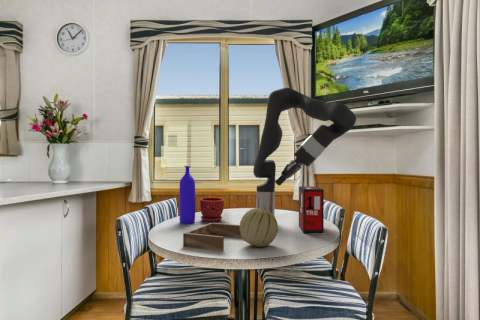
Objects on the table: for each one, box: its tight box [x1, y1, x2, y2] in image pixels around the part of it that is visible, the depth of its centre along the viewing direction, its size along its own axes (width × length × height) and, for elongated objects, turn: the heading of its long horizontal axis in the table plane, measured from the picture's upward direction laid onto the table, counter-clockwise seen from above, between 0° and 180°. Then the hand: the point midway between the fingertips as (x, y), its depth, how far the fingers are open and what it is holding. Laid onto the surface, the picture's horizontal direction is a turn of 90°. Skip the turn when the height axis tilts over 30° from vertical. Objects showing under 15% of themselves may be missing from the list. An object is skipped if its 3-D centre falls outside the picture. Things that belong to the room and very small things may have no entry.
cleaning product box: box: [298, 186, 325, 235], centre depth 158 cm, size 16×9×20 cm, turn 178°
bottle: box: [178, 165, 196, 225], centre depth 175 cm, size 8×8×30 cm
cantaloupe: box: [239, 207, 279, 248], centre depth 128 cm, size 15×15×15 cm
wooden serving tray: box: [182, 222, 242, 252], centre depth 135 cm, size 23×17×5 cm
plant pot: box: [199, 197, 225, 223], centre depth 182 cm, size 13×13×12 cm
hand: (277, 183), depth 125 cm, fingers closed
